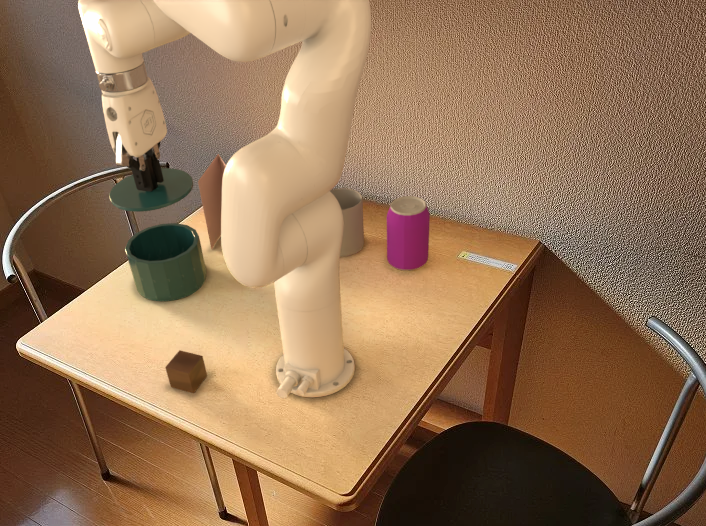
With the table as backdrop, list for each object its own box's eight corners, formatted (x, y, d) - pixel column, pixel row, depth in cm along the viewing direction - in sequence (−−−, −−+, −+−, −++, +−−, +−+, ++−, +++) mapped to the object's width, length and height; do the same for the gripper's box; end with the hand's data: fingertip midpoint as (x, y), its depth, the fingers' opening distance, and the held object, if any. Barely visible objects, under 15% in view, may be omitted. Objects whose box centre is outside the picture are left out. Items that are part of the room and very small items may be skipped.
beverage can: (383, 271, 137) (382, 214, 129) (391, 249, 142) (391, 192, 134) (424, 275, 134) (426, 217, 126) (431, 252, 140) (433, 195, 132)
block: (193, 393, 117) (188, 373, 114) (170, 387, 119) (164, 367, 116) (207, 376, 120) (202, 355, 117) (184, 370, 122) (179, 350, 119)
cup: (353, 229, 149) (351, 184, 142) (371, 248, 143) (369, 202, 136) (314, 240, 147) (310, 195, 140) (331, 260, 141) (328, 214, 134)
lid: (165, 219, 120) (155, 182, 116) (94, 209, 126) (82, 172, 122) (209, 178, 130) (202, 142, 125) (141, 170, 135) (132, 135, 131)
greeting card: (225, 220, 156) (214, 153, 146) (258, 221, 154) (249, 154, 144) (207, 249, 149) (193, 181, 138) (242, 251, 147) (230, 182, 136)
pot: (183, 307, 135) (173, 268, 129) (122, 294, 140) (110, 256, 134) (219, 267, 143) (211, 229, 138) (160, 256, 148) (151, 218, 143)
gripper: (112, 99, 108) (142, 211, 120) (170, 60, 118) (192, 166, 130) (72, 96, 111) (105, 205, 123) (132, 58, 121) (158, 162, 133)
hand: (150, 184), depth 127 cm, fingers closed on lid, 2 cm apart
